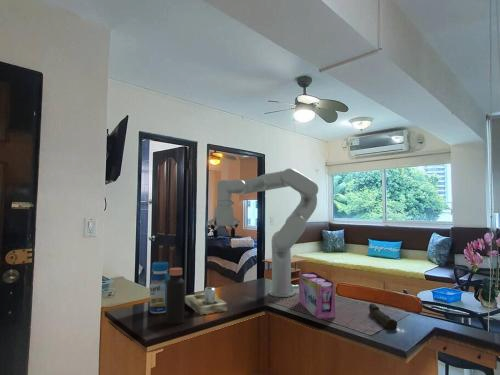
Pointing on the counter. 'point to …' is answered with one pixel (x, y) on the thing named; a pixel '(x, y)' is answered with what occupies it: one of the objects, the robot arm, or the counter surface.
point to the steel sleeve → (209, 295)
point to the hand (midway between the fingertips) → (224, 237)
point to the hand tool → (382, 317)
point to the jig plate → (199, 304)
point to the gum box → (317, 295)
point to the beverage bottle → (158, 287)
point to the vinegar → (175, 297)
